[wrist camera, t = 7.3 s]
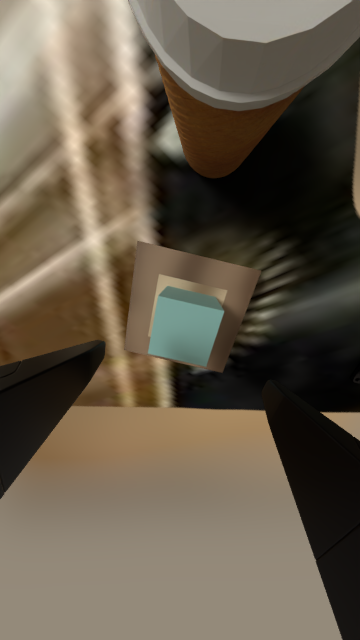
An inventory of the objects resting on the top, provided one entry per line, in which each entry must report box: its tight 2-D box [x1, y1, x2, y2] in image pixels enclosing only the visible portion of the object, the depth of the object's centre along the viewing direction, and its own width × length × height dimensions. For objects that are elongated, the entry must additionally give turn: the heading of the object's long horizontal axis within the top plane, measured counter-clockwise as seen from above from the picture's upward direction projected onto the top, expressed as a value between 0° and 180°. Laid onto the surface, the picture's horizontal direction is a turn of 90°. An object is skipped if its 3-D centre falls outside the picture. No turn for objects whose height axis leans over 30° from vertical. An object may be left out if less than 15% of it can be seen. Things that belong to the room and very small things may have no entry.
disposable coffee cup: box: [128, 0, 360, 178], centre depth 9 cm, size 10×10×12 cm
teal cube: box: [148, 286, 224, 367], centre depth 16 cm, size 5×5×5 cm
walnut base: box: [124, 241, 261, 373], centre depth 19 cm, size 12×12×2 cm
